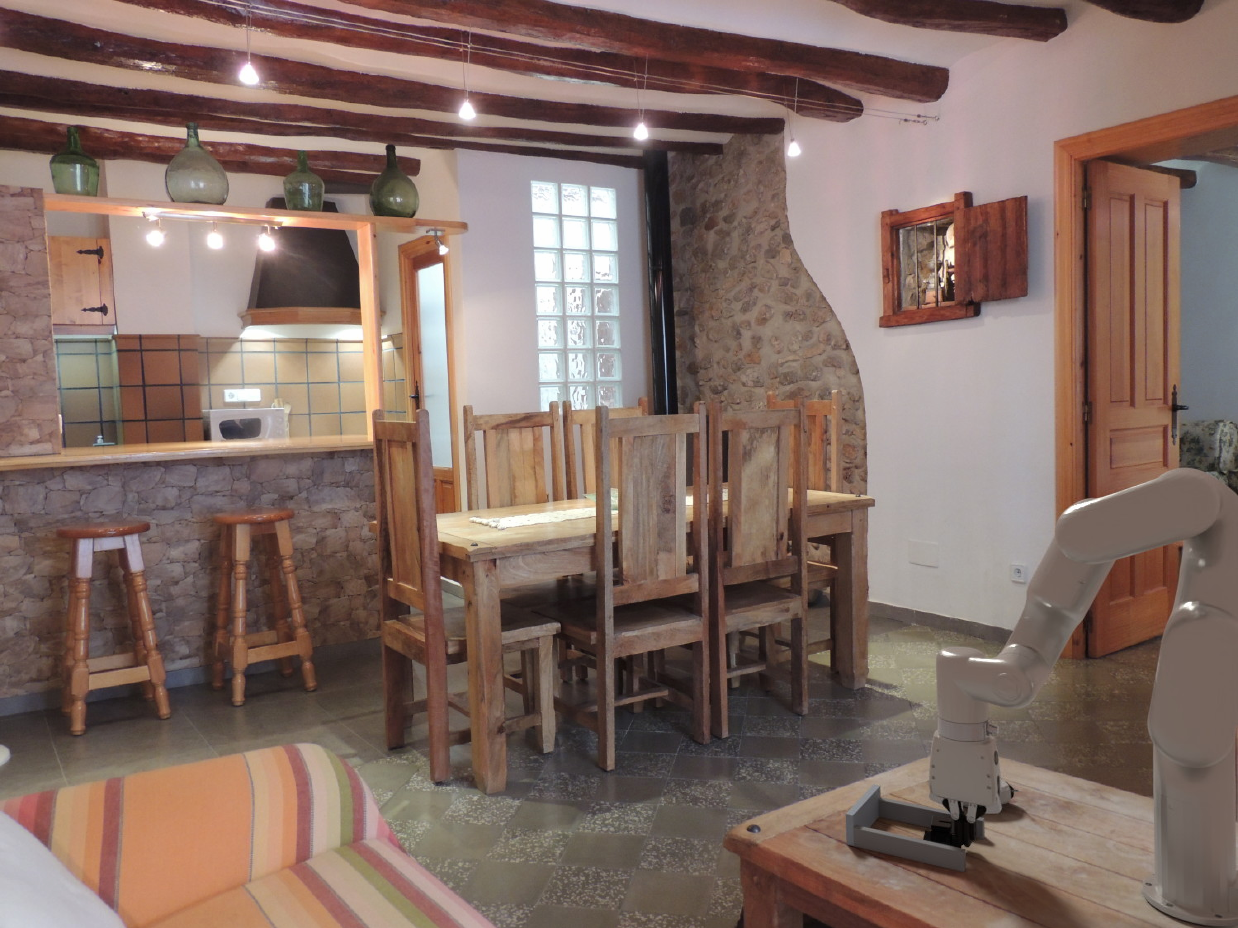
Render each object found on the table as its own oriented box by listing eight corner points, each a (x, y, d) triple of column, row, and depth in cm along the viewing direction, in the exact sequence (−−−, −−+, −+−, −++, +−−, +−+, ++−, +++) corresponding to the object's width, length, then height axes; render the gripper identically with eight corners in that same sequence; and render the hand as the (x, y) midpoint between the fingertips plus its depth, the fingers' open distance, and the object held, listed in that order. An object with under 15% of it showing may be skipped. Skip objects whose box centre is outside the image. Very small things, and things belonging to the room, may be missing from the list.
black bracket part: (963, 872, 136) (962, 842, 136) (912, 864, 139) (912, 834, 139) (967, 835, 147) (966, 808, 147) (920, 829, 150) (920, 802, 150)
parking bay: (984, 836, 146) (983, 805, 146) (964, 872, 135) (963, 839, 134) (874, 812, 156) (873, 784, 156) (846, 844, 145) (845, 813, 145)
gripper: (1019, 728, 139) (1021, 844, 140) (921, 713, 147) (924, 823, 148) (1009, 743, 133) (1011, 864, 134) (907, 727, 141) (910, 841, 142)
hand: (965, 842), depth 141 cm, fingers closed
